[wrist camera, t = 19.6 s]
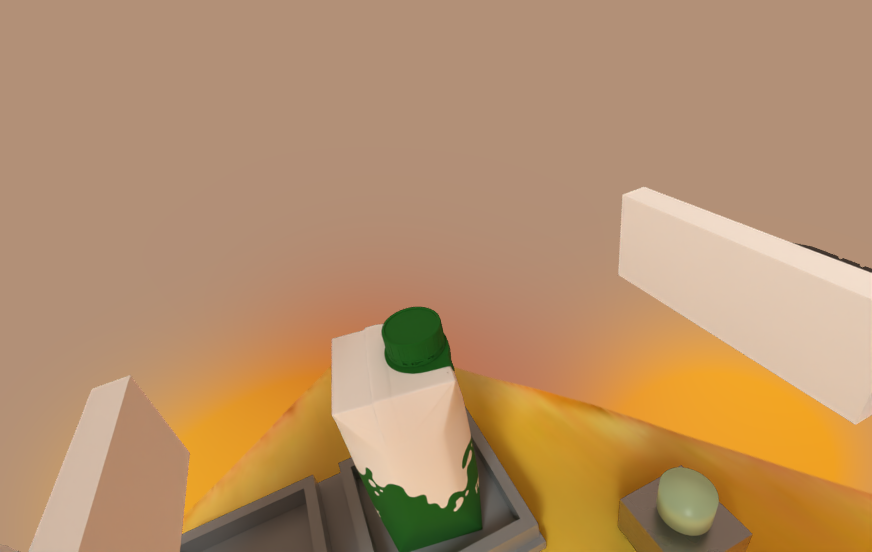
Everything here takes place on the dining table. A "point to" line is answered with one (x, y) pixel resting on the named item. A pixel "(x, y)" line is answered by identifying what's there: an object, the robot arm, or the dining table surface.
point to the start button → (687, 501)
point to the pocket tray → (364, 517)
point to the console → (662, 544)
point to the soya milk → (408, 428)
